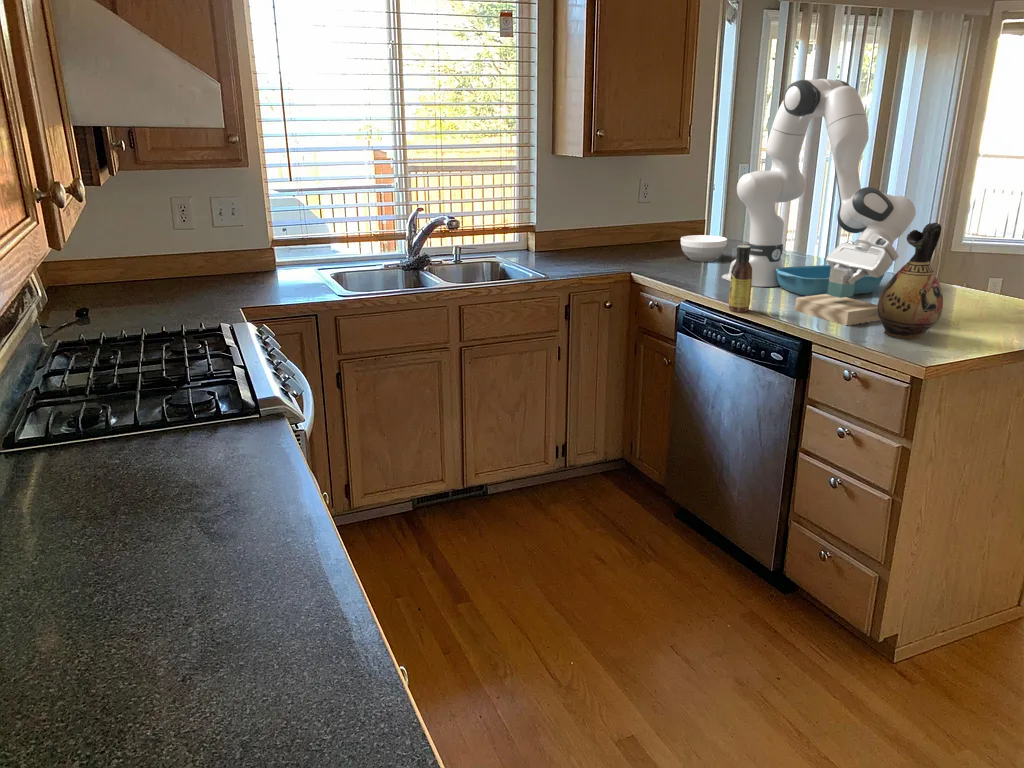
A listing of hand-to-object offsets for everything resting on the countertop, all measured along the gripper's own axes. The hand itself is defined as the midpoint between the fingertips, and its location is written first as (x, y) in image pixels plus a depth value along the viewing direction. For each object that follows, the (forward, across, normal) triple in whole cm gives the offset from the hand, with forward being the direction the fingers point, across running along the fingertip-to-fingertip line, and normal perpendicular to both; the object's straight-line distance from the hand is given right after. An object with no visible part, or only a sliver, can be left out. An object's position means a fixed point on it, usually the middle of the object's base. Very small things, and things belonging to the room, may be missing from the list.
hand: (840, 280), depth 222 cm
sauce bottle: (+24, -16, -9) cm, 30 cm away
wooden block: (+7, 0, +8) cm, 10 cm away
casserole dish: (-8, -29, +23) cm, 38 cm away
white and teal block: (+3, 0, +4) cm, 4 cm away
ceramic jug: (+6, +24, +10) cm, 26 cm away
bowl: (-4, -97, +19) cm, 99 cm away
